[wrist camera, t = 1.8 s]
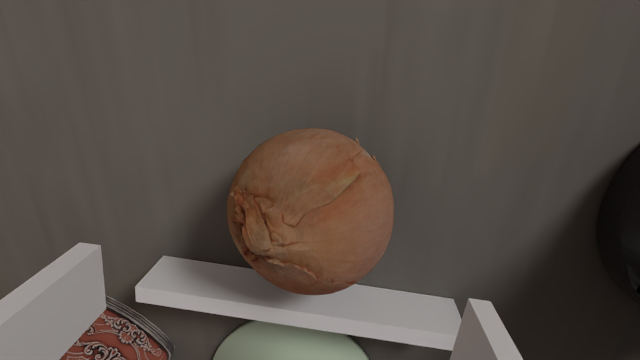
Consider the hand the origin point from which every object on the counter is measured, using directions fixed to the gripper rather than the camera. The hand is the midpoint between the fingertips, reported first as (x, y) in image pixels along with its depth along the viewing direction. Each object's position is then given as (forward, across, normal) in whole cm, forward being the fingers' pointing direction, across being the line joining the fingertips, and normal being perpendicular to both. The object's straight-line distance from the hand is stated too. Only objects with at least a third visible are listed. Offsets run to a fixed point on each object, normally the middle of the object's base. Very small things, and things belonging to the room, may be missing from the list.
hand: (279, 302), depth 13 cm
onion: (+13, 0, 0) cm, 13 cm away
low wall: (+13, 0, +8) cm, 15 cm away
